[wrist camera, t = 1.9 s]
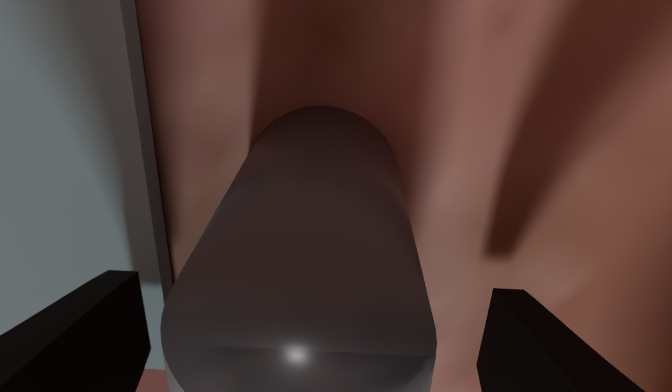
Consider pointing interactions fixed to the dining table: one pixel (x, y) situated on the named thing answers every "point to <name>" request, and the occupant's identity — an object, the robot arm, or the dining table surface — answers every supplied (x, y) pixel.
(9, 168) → the rubber mat
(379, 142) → the connector plug
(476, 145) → the dining table surface
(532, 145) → the dining table surface
